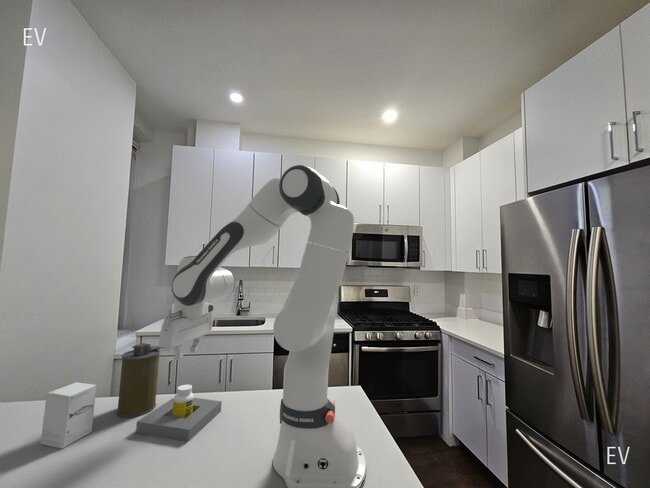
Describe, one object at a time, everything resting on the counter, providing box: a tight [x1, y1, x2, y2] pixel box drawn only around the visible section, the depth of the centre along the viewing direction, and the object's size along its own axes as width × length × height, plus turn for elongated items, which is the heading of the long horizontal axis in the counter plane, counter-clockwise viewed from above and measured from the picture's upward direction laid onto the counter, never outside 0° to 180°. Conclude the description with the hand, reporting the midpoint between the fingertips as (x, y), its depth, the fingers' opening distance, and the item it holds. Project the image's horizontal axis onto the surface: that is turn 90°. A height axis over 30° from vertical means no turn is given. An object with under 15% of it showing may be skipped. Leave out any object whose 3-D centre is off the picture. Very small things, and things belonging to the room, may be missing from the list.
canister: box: [116, 342, 161, 418], centre depth 90 cm, size 11×10×20 cm
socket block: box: [135, 397, 222, 442], centre depth 83 cm, size 16×16×4 cm
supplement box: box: [40, 381, 97, 449], centre depth 74 cm, size 7×7×13 cm
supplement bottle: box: [172, 384, 195, 419], centre depth 83 cm, size 5×5×10 cm
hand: (186, 355), depth 85 cm, fingers open, 5 cm apart
